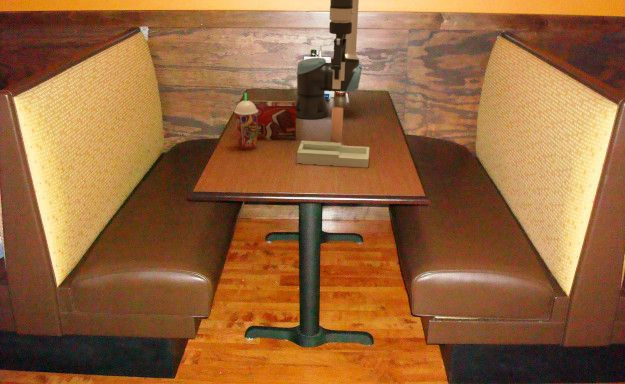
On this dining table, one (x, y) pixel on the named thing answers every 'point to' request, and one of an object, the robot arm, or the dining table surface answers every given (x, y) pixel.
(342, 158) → the slot board
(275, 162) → the dining table surface
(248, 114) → the smoothie
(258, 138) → the ice cream box
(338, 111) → the peg
